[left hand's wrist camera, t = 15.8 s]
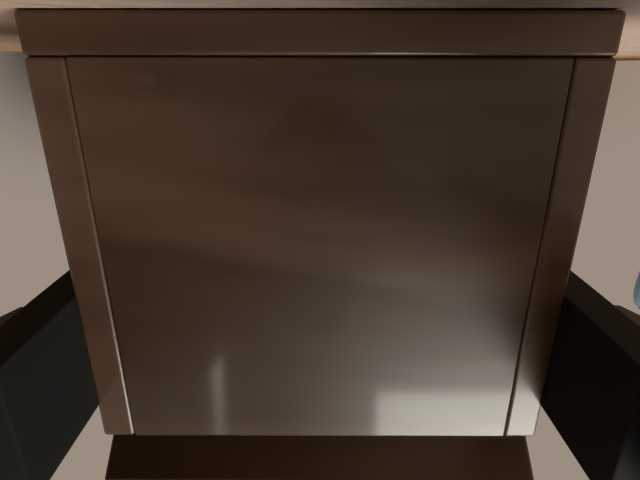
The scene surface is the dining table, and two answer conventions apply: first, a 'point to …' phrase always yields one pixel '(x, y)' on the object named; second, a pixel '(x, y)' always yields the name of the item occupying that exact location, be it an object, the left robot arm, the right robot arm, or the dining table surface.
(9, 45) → the dining table surface
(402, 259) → the chest
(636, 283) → the right robot arm
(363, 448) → the lid
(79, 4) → the dining table surface
